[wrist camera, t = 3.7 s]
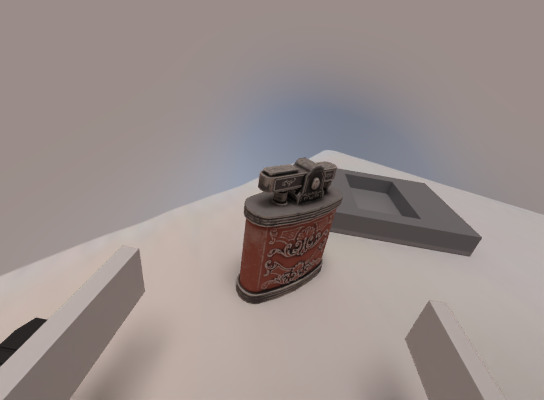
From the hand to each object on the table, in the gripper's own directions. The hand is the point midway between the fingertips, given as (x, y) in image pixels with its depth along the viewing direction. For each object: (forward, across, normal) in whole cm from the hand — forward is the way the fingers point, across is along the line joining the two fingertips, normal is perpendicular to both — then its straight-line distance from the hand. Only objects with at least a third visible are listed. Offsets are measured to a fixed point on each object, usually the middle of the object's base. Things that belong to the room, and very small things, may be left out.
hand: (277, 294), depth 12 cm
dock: (+22, +12, -6) cm, 26 cm away
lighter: (+7, +1, -6) cm, 9 cm away
